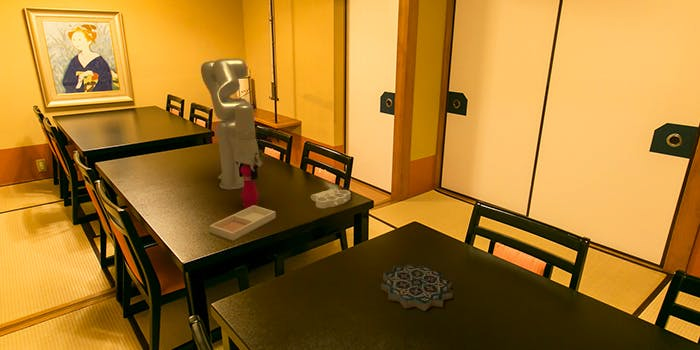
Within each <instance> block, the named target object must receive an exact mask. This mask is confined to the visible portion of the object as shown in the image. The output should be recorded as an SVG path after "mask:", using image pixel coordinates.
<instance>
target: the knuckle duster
mask: <svg viewBox="0 0 700 350" xmlns="http://www.w3.org/2000/svg"><path fill="white" fill-rule="evenodd" d="M351 195H352V193H351V191H350V190H348V189H335V188H330V189H327V190H324V191H323V190H322V191H321V192H317V193H313V194H311V195H310V199H311V200H312V201H313V202H315V207H316V208H318V209H327V208H331V207H333V208H334V207H338V206H339V205H345V204H346V203H347V202H348V201H350V200H351V198H352V197H351Z"/></svg>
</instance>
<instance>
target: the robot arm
mask: <svg viewBox="0 0 700 350" xmlns="http://www.w3.org/2000/svg"><path fill="white" fill-rule="evenodd" d="M200 66H201V67H200V74H201V78H202V81H203V82H204V85H205V87H206V88H207V90H208V92H209V95H210V99H211V101H212V102H211V103H212V106H213V111H214V114H215V116H216V118H217V119H218V120H220V121H219V122H217V124H216V125H215V133H216V137H217V140H218V146H219V147H218V148H219V154H220V157H219V158H220V167H221V173H220V174H219V175H218V176H217V178H218V179H219V180H220V181H221V182H220V183H219V187H220V188H221V189H223V190H228V191H229V190H231V191H232V190H238V189H243V187H244V179H243V177H242V176H243V174H242V173H241V167H242V165H244V164H248V165H250V166H251V169H252V171H251V180H254V181H255V180H257V179H258V178H259V173H258V170H259V168H260V167H261V166H262V165H263V161H262V160H261V158H260V152H259V151H260V150H259V145H258V141H257V139H256V127H255V126H256V124H255V123H256V122H255V113H254V112H255V111H254V106H253V105H252V104H251V103H250V101H247V99H246V98H241V97H237V98H234V97H233V98H232V97H231V96H232V95H234V94H236V93H237V92H238V91H239V90H240V86H241V85H240V81H239V80H240V79H244V78H246V76H247V75H248V67H247V64H246V62H245V61H244V59H241V58H219V59H216V60H208V61H205V62H203V63H202V64H201V65H200ZM253 165H254V166H253Z"/></svg>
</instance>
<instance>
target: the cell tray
mask: <svg viewBox="0 0 700 350" xmlns="http://www.w3.org/2000/svg"><path fill="white" fill-rule="evenodd" d="M276 217H277V214H276V211H275V210H271V209H267V208H264V207H261V206H259V205H257V206H255V205H253V206H251V207H249V208H246V207H245V208H244V209H243V210H239V211H238V212H236V213H234V214H231V215H230V216H227V217H225V218H223V219H221V220H218V221H216V222H214V223H212V224H210V225H209V233H210V234H212V235H215V236H218V237H221V238H223V239H226V240H229V241H232V242H234V241H237V240H238V239H241V238H242V237H244V236H246V235H248V234H249V233H252V232H253V231H255V230H257V229H260V227H262V226H264V225H266V224H268V223H270V222H272V221H274V220H275V219H276Z"/></svg>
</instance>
